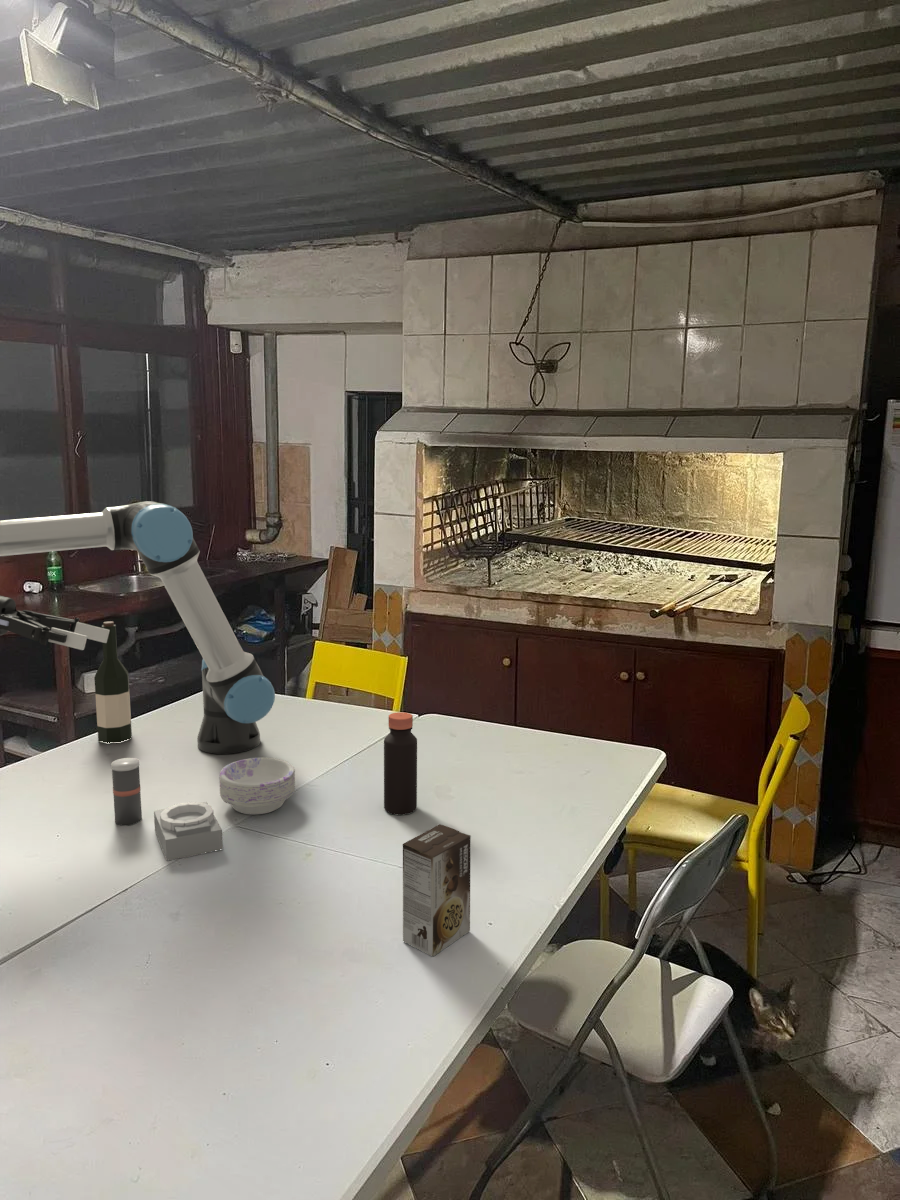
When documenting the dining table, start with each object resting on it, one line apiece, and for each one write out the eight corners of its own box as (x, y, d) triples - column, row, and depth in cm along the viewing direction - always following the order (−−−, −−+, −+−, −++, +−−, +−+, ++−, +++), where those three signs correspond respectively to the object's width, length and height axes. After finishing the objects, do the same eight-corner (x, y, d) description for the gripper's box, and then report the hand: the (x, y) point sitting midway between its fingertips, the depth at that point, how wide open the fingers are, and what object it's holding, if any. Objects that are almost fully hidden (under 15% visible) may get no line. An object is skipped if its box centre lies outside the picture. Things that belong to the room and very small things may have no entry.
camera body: (207, 820, 173) (206, 794, 172) (222, 849, 161) (221, 821, 160) (154, 830, 169) (153, 803, 168) (166, 860, 157) (165, 832, 156)
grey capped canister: (140, 812, 177) (137, 756, 175) (144, 822, 172) (140, 764, 170) (113, 817, 174) (109, 760, 172) (116, 827, 170) (112, 769, 168)
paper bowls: (278, 824, 172) (277, 786, 171) (207, 817, 175) (205, 779, 174) (306, 795, 187) (305, 759, 185) (240, 788, 190) (238, 753, 188)
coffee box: (439, 917, 139) (440, 822, 136) (471, 932, 135) (472, 834, 132) (400, 942, 132) (400, 842, 129) (433, 958, 128) (433, 855, 125)
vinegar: (377, 811, 179) (377, 717, 175) (394, 799, 185) (394, 708, 181) (406, 818, 176) (406, 723, 172) (422, 806, 182) (423, 713, 178)
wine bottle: (138, 734, 224) (132, 619, 219) (123, 744, 216) (116, 626, 211) (107, 732, 225) (100, 618, 219) (91, 743, 217) (83, 625, 211)
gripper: (10, 626, 182) (111, 651, 184) (-49, 636, 157) (69, 666, 159) (19, 591, 182) (120, 616, 184) (-39, 596, 157) (79, 626, 159)
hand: (97, 639), depth 171 cm, fingers open, 13 cm apart
